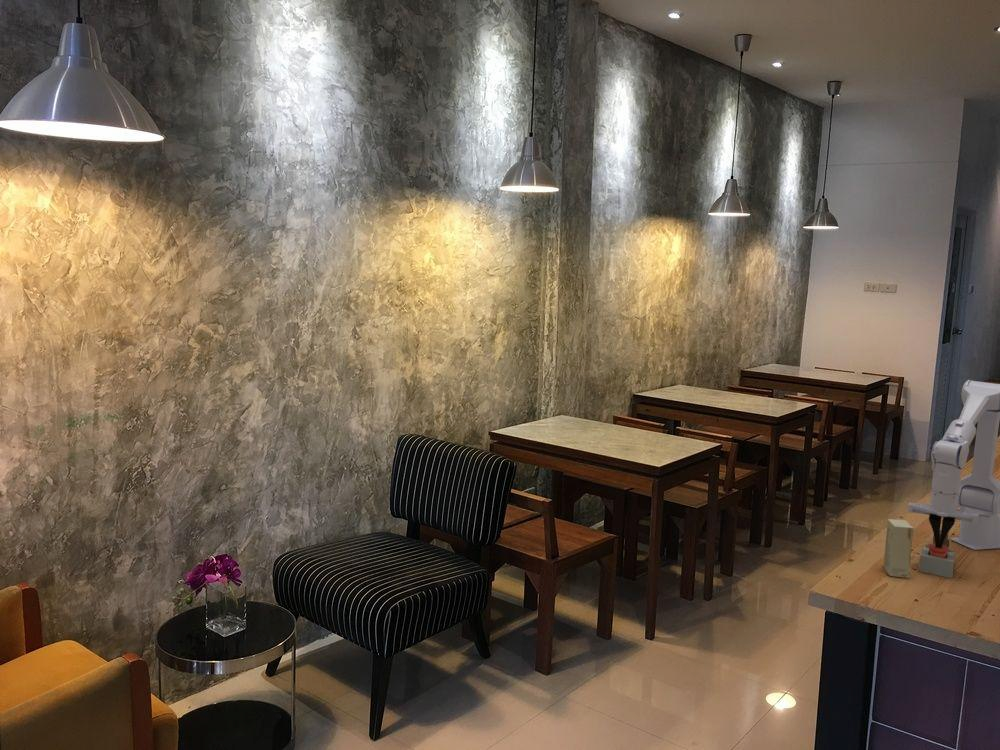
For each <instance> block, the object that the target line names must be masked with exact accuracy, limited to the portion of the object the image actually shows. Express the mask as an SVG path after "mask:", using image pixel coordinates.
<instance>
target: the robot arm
mask: <svg viewBox="0 0 1000 750" xmlns="http://www.w3.org/2000/svg"><path fill="white" fill-rule="evenodd" d="M961 402H962V405H963V408H962V410H961V413H960V415H959V417H958V418H957V419H954V420H952V421H951V422H950V424H949V426H948V428H947V429H946V431H945V433H944V435H943V436H942V438H941V439H939V441H935V442H934V444H932V445H933V446H932V449H931V452H930V454H931V455H930V459H931V470H932V471H933V472H932V473H933V474H932V482H931V483H932V484H931V492H930V500H929V503H928V504H926V503H925V504H924V503H914V502H909V503H908V508H907V513H910V514H913V513H916V514H920V515H921V514H922V515H926V516H927V515H928V521H929V525H930V526H931V528H932V529H931V530H932V532H933V537H935V547H939V548H942V545H943V542H944V539H945V537H946V535H947V534H948V535H949V532H950V530H952V527H953V526H954V524H955V522H956V520H957V521H960V526H959V536H955V537H950V541H951V540H952V541H953V542H955V543H958V544H960V545H962V546H964V547H966V548H969V549H970V550H973V551H977V550H979V551H980V550H991V549H992V550H993V549H1000V481H999V480H998V479H996V477H994V476H993V475H994V467H995V460H996V459H995V458H996V451H997V442H998V435H999V426H1000V383H993V382H984V381H976V380H972V379H967V380H966V381H965V382H964V384H963V386H962V388H961ZM976 424H977V426H976ZM974 439H975V443H974V449H973V457H972V458H973V459H972V466H971V467H972V468H971V473H970V474H968V475H965V476H963V477H962V472H963V471H962V470H963V468H964V467H965V465H966V463H967V460H968V456H969V452H970V446H971V443H972V442H973V440H974ZM958 506H959V508H960V509H958ZM940 530H941V537H940Z"/></svg>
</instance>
